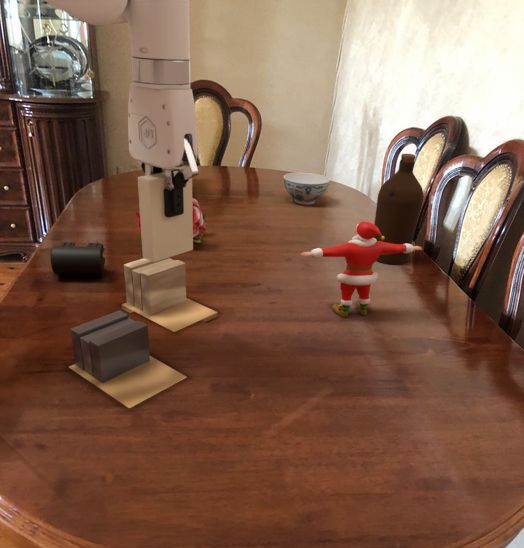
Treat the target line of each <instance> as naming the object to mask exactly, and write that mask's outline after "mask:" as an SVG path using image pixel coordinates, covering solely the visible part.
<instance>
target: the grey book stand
mask: <svg viewBox="0 0 524 548" xmlns="http://www.w3.org/2000/svg"><path fill="white" fill-rule="evenodd" d="M69 331H70V337H71V344H72V349H73V357H74V363H73V364H72V365H69V366H68V368H69V369H70V370H72V371H73V372H75V373H76V374H77V375H80V376H81V377H82V378H84V379H85V380H87V382H90V383H91V384H92V385H93V386H96V387H97V388H98V389H100V390H101V391H103V392H104V393H106V394H107V395H109V396H110V397H111V398H113V399H114V400H116V401H117V402H119V403H120V404H122V405H124V407H126V408H128V409H131V408H133V407H135V406H137V405H138V404H141V403H143V402H144V401H146V400H148V399H150V398H152V397H153V396H156V395H157V394H159V393H161V392H163V391H164V390H166V389H168V388H170V387H172V386H173V385H176V384H177V383H179V382H181V381H183V380H184V379H186V378H188V377H187V376H186V375H185V374H183V373H181V372H180V371H177V370H176V369H174V368H172V367H171V366H169V365H167V364H165V363H163V362H162V361H160V360H158V359H157V358H155V357H153V356H152V355H151V354H150V339H149V325H148V324H147V323H144V322H143V321H141V320H134V319H133V318H131V317H129V314H128V313H126V312H124V311H122V310H117V311H114V312H110V313H108V314H106V315H103V316H100V317H98V318H94V319H92V320H90V321H87V322H85V323H82V324H79V325H77V326H74V327H71V328H69Z"/></svg>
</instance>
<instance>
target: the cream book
mask: <svg viewBox="0 0 524 548" xmlns="http://www.w3.org/2000/svg"><path fill="white" fill-rule="evenodd" d="M173 172H174V176H175V175H176V174H177V173H178V172H177V171H173ZM164 189H167V186H166V174H165V172H163V173H157V174H151V175H145V174H144V175H141V176H137V191H138V205H139V207H138V208H139V212H140V222H141V232H140V233H141V234H140V235H141V250H142V251H141V252H142V259H143V258H145V259H148V260H150V261H152V262H155V261H159V260H162V259H165V258H168V257H169V258H171V257H174V256H178V255H181V254H183V253H187V252H191V251H193V250H194V242H193V208H192V198H193V178H191V179H189V181H188V182H187V183H186V187H185V188H183V200H184V213H183V214H182V215H178V216H174V217H170V218H168V217H166V216H165V206H164Z"/></svg>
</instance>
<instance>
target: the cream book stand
mask: <svg viewBox="0 0 524 548" xmlns="http://www.w3.org/2000/svg"><path fill="white" fill-rule="evenodd" d="M186 266H187V265H186V262H184V261H182V260H179V259H172V258H171V257H168V258H165V259H162V260H159V261H155V262H152V261H150V260H148V259H145V258H143V257H142V258H140V259H137V260H134V261H130V262H127V263H124V264H123V272H124V285H125V295H126V302H125V303H122V304H121V310H123V311H125V312H127V313H129V314H131V313H134V312H135V313H137V314H138V315H141V316H143V317H144V318H146V319H148V320H150V321H152V322H154V323H156V324H158V325H159V326H162V327H163V328H165V329H167V330H169V331H171V332H172V333H176V332H177V331H179V330H182V329H184V328H186V327H189V326H191V325H194V324H195V323H198V322H199V321H201V322H203V323H207V322H209V321H211V320H214V319H216V318H218V316H219V315H218V314H219V313H218V311H216V310H214V309H211V308H210V307H207V306H205V305H202V304H200V303H198V302H196V301H194V300H192V299H190V298H187V271H186V269H187V267H186Z"/></svg>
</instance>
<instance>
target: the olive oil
mask: <svg viewBox="0 0 524 548" xmlns="http://www.w3.org/2000/svg"><path fill="white" fill-rule="evenodd" d="M400 157H401V158H400V160H399V165H398V170H397V171H396V172H395V173H394V174H393V175H392V176H391V177H389V178H388V179H387V180H386V181H385V182H384V183H383V184H382V185H381V187H380V189H379V191H378V193H377V200H376V210H375V218H374V225H376V226H377V227H378V229H379V231H380V233H381V235H382V236H384V240H382V239H381V236H379V235H377V234H375V236H374V237H373V238H375V239H376V240H377V241H382V242H386V243H392V244H411V245H413V242H414V241H413V240H414V237H415V234H416V229H417V226H418V222H419V219H420V215H421V211H422V208H423V207H422V206H423V204H424V189H423V187H422V185H421V184H420V182H419V180H418V179H417V177H416V176H415V173H414V169H415V164H416V161H415V160H416V157H417V156H416V155H415V154H414V153H413V154H412V153H401V156H400ZM410 254H411V252H410V253H403V252H401V253H394V254H383V255H381V254H380V256H379V257H378V258H377V260H376V261H375V262H378V263H382V264H387V265H403V264H406V263H407V262H408V261H409V257H410Z"/></svg>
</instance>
